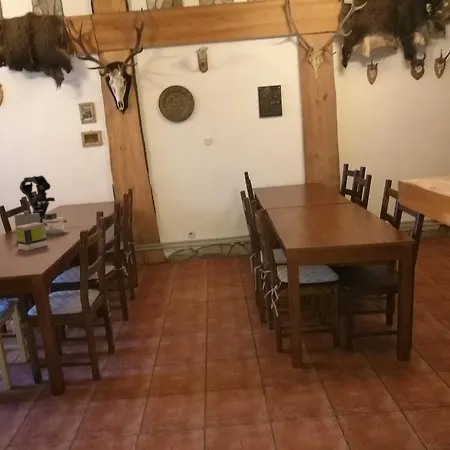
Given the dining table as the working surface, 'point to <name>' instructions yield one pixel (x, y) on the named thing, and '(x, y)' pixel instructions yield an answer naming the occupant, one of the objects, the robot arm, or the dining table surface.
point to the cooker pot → (55, 227)
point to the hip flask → (26, 218)
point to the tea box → (31, 236)
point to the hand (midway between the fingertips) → (45, 213)
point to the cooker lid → (52, 218)
